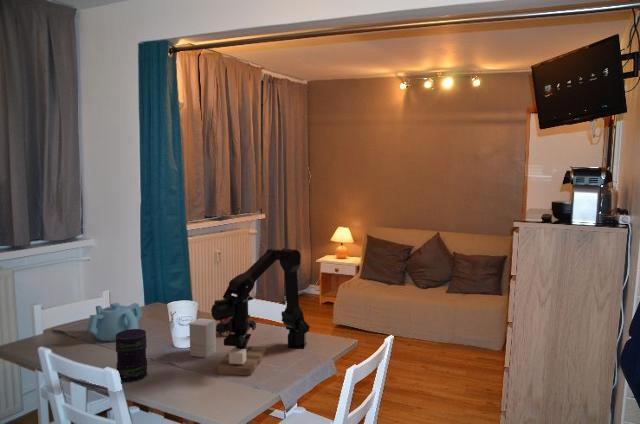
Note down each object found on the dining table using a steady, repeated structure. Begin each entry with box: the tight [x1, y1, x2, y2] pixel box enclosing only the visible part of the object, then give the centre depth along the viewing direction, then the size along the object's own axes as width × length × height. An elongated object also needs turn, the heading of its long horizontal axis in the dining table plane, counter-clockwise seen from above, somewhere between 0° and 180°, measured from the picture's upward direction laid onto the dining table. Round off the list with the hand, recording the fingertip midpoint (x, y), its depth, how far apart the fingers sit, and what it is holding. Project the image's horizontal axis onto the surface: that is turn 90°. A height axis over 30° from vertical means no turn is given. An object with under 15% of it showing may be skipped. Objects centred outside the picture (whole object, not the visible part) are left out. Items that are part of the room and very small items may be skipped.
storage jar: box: [115, 328, 148, 383], centre depth 166 cm, size 10×10×15 cm
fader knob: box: [228, 347, 246, 365], centre depth 172 cm, size 4×5×4 cm
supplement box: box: [188, 318, 217, 359], centre depth 187 cm, size 7×7×13 cm
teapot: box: [86, 302, 143, 342], centre depth 206 cm, size 19×19×14 cm
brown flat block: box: [217, 345, 268, 376], centre depth 178 cm, size 20×12×3 cm, turn 171°
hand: (241, 355), depth 176 cm, fingers closed
